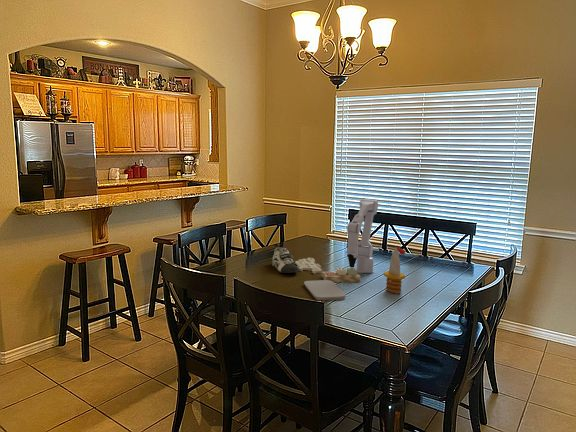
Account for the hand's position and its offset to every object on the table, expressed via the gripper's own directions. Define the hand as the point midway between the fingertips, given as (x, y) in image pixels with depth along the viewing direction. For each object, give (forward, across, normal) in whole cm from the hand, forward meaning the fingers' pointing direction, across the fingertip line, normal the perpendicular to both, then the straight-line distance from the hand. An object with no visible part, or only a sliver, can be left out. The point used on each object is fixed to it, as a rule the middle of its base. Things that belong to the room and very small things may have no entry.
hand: (351, 267), depth 250 cm
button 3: (+7, 0, -12) cm, 14 cm away
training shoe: (+8, -20, -37) cm, 42 cm away
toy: (+7, +22, +17) cm, 29 cm away
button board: (+7, 0, -6) cm, 9 cm away
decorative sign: (+8, -25, -21) cm, 34 cm away
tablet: (+8, +21, -20) cm, 30 cm away
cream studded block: (+4, 0, -6) cm, 7 cm away
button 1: (+4, 0, 0) cm, 4 cm away
